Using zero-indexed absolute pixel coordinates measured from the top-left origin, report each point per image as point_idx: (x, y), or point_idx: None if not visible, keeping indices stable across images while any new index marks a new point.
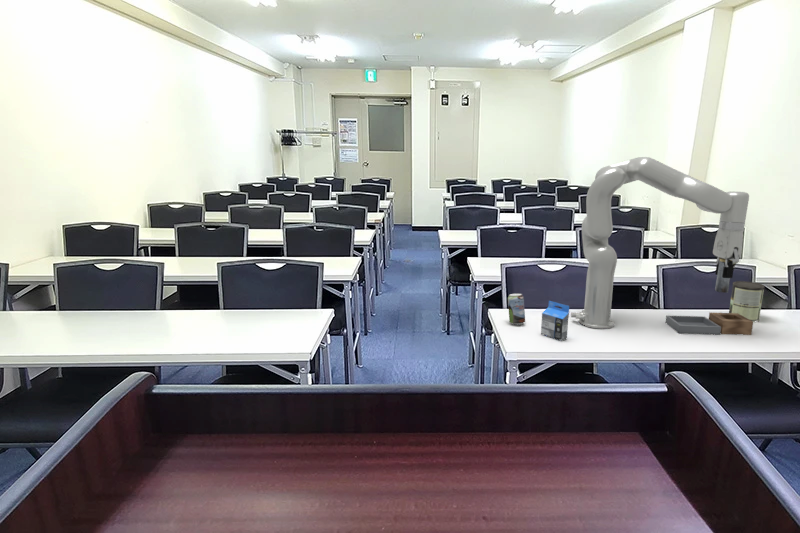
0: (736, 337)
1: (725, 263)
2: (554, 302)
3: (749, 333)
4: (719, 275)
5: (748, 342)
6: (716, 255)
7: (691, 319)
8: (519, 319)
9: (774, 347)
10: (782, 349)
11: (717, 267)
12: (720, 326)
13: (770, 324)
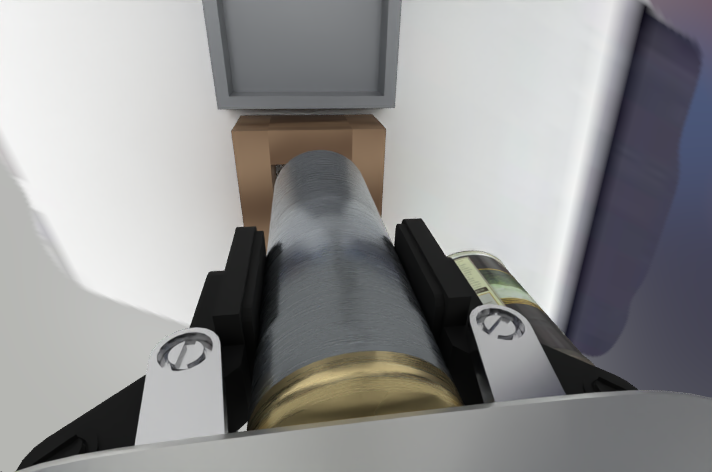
0: (204, 161)
1: (210, 378)
2: None
3: None
4: (306, 219)
5: (144, 180)
6: (502, 406)
7: (384, 27)
8: None
9: (111, 249)
10: (95, 265)
11: (427, 271)
12: (256, 122)
13: None
